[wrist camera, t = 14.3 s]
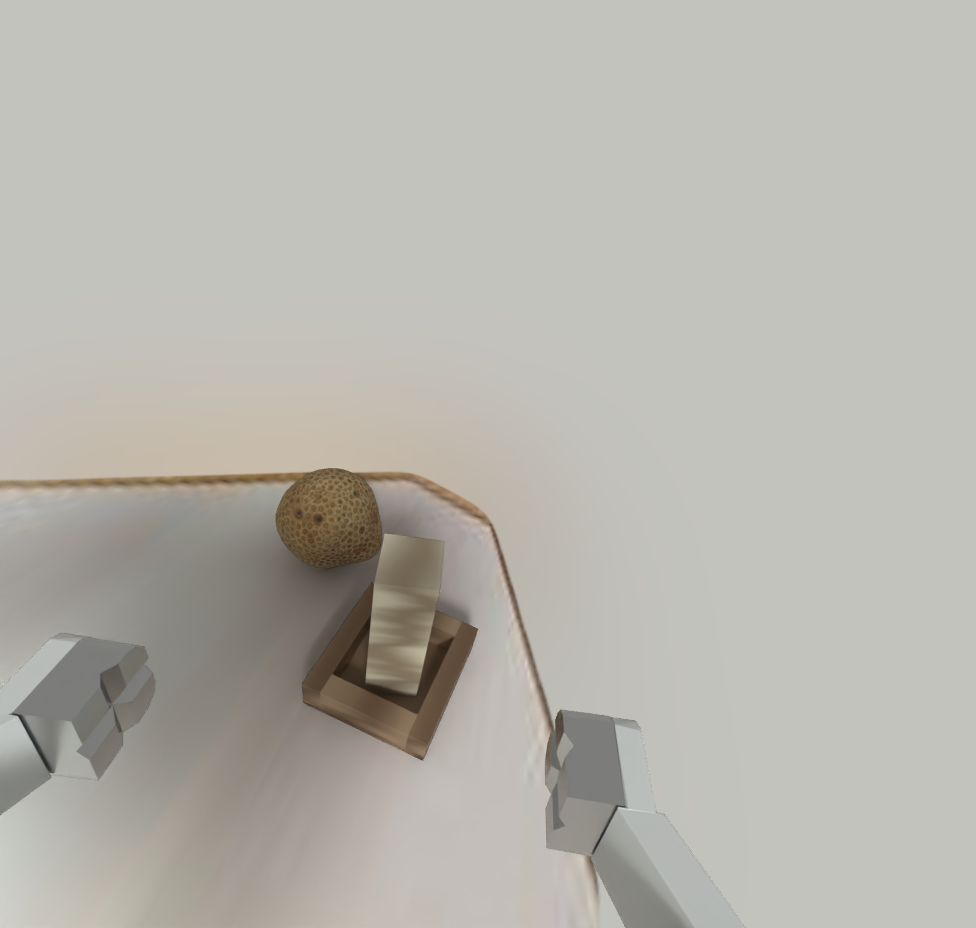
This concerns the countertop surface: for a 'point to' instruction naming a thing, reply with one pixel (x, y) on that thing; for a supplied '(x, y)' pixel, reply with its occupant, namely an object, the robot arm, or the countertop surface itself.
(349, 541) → the natural sponge
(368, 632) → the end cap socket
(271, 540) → the countertop surface
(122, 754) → the countertop surface
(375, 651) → the beige tall block
